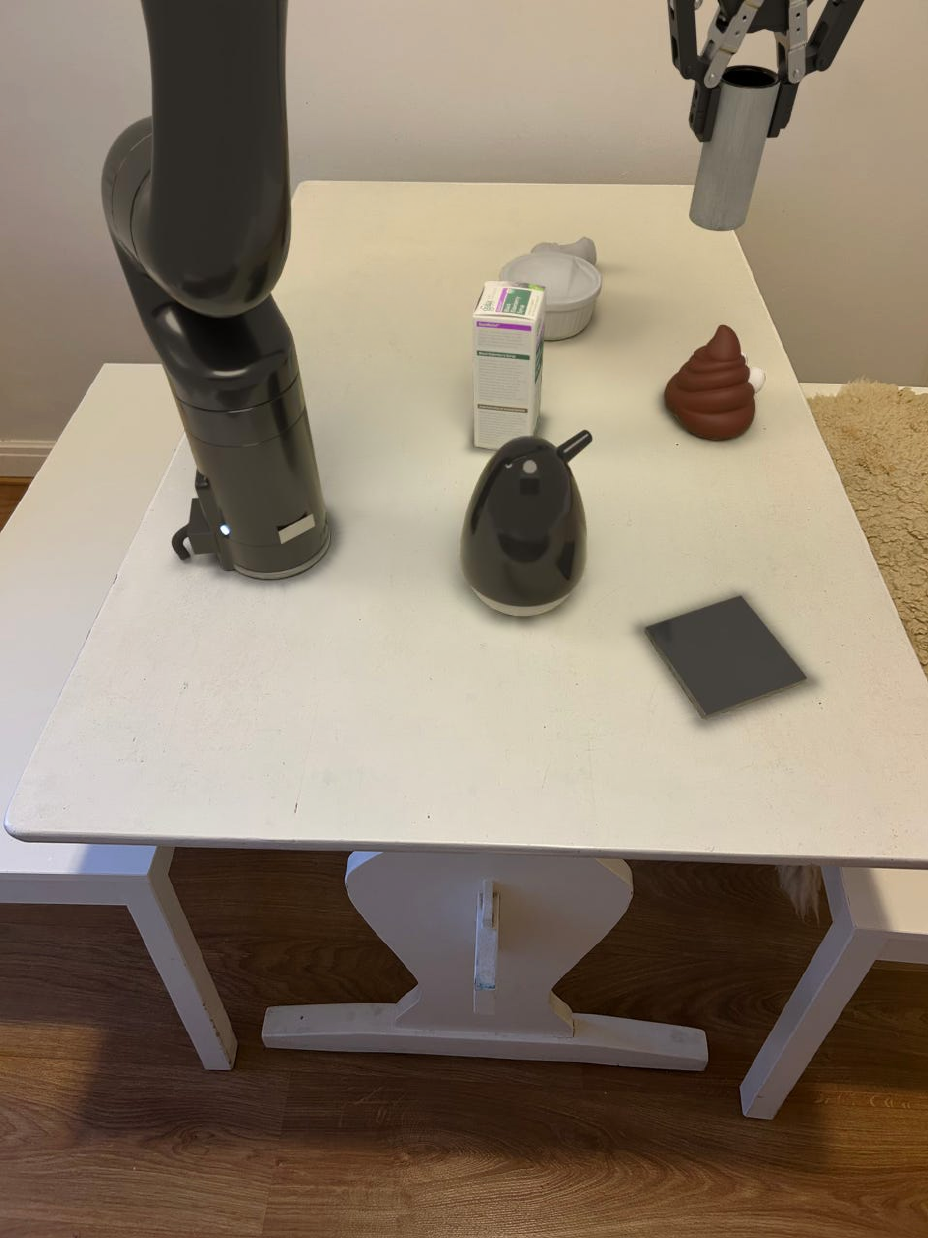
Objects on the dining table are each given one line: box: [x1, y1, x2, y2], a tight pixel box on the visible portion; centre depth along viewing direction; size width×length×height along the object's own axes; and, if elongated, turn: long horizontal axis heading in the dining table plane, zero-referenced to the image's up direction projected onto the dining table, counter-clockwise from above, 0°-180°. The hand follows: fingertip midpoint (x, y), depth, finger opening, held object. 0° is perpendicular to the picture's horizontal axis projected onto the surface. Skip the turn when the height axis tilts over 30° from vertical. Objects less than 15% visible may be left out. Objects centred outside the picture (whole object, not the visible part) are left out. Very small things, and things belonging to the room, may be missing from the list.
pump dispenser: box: [458, 429, 593, 617], centre depth 64 cm, size 10×10×15 cm
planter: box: [688, 64, 781, 232], centre depth 64 cm, size 4×4×10 cm
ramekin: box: [498, 252, 603, 341], centre depth 94 cm, size 11×11×5 cm
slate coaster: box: [643, 594, 808, 720], centre depth 65 cm, size 9×9×1 cm
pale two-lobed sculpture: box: [529, 236, 598, 267], centre depth 101 cm, size 4×8×5 cm
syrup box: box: [471, 280, 547, 451], centre depth 77 cm, size 6×6×14 cm
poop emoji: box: [663, 324, 766, 441], centre depth 81 cm, size 10×8×9 cm
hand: (735, 134), depth 63 cm, fingers closed on planter, 4 cm apart
